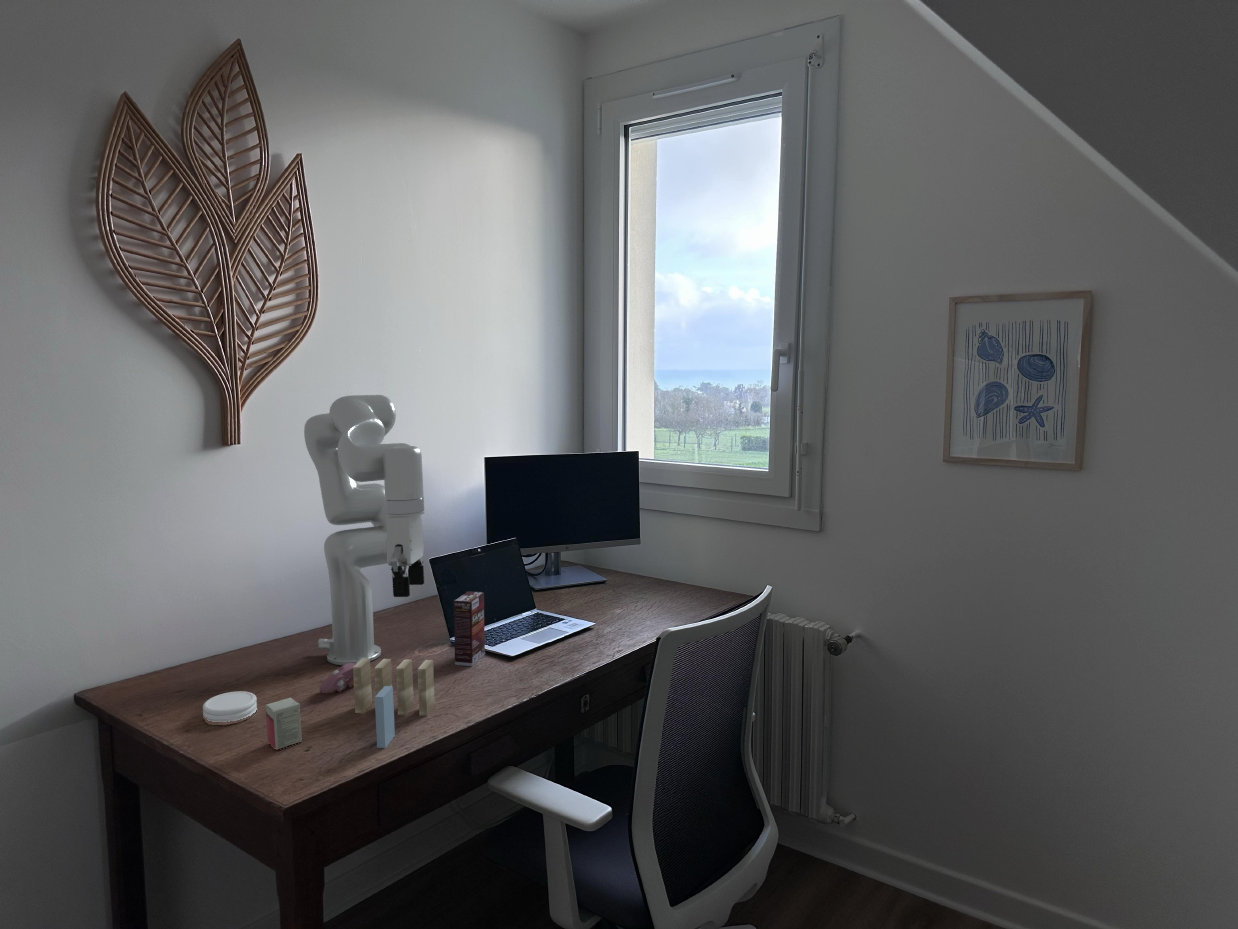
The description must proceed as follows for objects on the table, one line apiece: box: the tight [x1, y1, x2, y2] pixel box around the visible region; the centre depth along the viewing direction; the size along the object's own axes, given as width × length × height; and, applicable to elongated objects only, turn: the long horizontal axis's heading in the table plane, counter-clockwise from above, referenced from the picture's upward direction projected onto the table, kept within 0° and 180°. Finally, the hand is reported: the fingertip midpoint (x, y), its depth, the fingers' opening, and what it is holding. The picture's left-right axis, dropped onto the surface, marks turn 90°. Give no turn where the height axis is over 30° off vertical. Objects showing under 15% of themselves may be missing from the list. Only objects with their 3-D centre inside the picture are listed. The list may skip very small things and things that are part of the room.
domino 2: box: [374, 658, 393, 696], centre depth 167 cm, size 2×5×10 cm, turn 176°
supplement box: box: [453, 591, 486, 667], centre depth 195 cm, size 9×5×16 cm, turn 168°
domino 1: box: [353, 658, 373, 714], centre depth 168 cm, size 2×5×10 cm, turn 176°
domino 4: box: [417, 659, 435, 717], centre depth 166 cm, size 2×5×10 cm, turn 176°
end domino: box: [374, 685, 396, 749], centre depth 153 cm, size 2×5×10 cm, turn 176°
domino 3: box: [395, 659, 415, 716], centre depth 167 cm, size 2×5×10 cm, turn 176°
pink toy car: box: [319, 661, 359, 694], centre depth 178 cm, size 10×5×7 cm, turn 148°
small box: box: [264, 697, 303, 748], centre depth 153 cm, size 5×4×8 cm
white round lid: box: [202, 690, 258, 722], centre depth 165 cm, size 10×10×4 cm
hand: (409, 590), depth 164 cm, fingers open, 9 cm apart
